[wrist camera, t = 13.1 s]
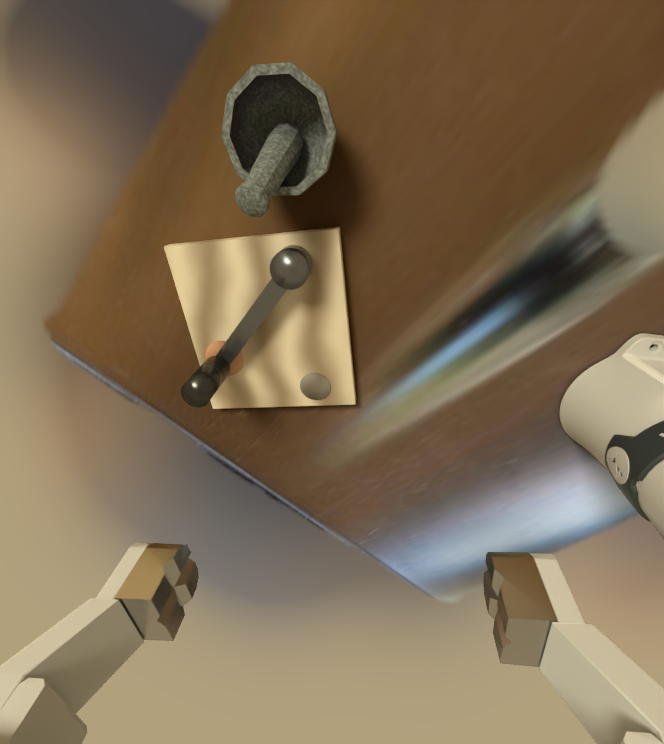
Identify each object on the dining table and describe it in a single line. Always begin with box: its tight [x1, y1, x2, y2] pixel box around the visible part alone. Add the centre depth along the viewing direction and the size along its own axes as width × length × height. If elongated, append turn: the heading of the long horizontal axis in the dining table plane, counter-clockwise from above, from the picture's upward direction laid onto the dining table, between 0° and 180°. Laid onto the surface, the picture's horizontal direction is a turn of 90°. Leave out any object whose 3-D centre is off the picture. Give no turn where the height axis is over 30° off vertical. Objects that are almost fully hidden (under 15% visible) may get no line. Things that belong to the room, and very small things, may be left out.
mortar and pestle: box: [221, 62, 337, 217], centre depth 33 cm, size 11×9×12 cm
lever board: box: [164, 227, 356, 409], centre depth 47 cm, size 20×22×2 cm
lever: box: [181, 245, 313, 407], centre depth 41 cm, size 4×20×8 cm, turn 142°
